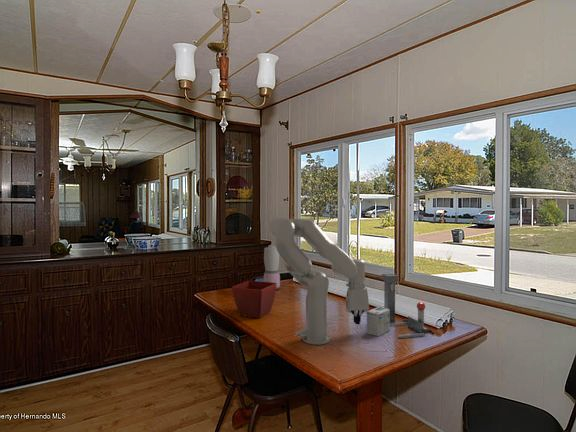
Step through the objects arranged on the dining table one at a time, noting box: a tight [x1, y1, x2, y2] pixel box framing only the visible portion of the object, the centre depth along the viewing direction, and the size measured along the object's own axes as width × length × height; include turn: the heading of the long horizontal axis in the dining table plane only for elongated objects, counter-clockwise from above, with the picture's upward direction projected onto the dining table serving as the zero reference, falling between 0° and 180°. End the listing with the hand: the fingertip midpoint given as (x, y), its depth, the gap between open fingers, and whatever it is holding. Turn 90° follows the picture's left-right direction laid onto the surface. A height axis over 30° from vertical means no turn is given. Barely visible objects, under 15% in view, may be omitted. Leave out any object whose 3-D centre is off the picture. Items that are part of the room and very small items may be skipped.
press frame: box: [381, 273, 425, 339], centre depth 174 cm, size 14×24×25 cm, turn 11°
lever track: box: [402, 318, 435, 336], centre depth 175 cm, size 6×20×1 cm, turn 11°
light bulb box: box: [366, 306, 391, 337], centre depth 169 cm, size 11×7×11 cm, turn 134°
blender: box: [263, 245, 281, 290], centre depth 261 cm, size 16×12×32 cm
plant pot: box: [231, 280, 277, 319], centre depth 198 cm, size 19×19×17 cm
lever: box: [416, 301, 427, 330], centre depth 172 cm, size 4×5×13 cm
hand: (357, 323), depth 167 cm, fingers closed
